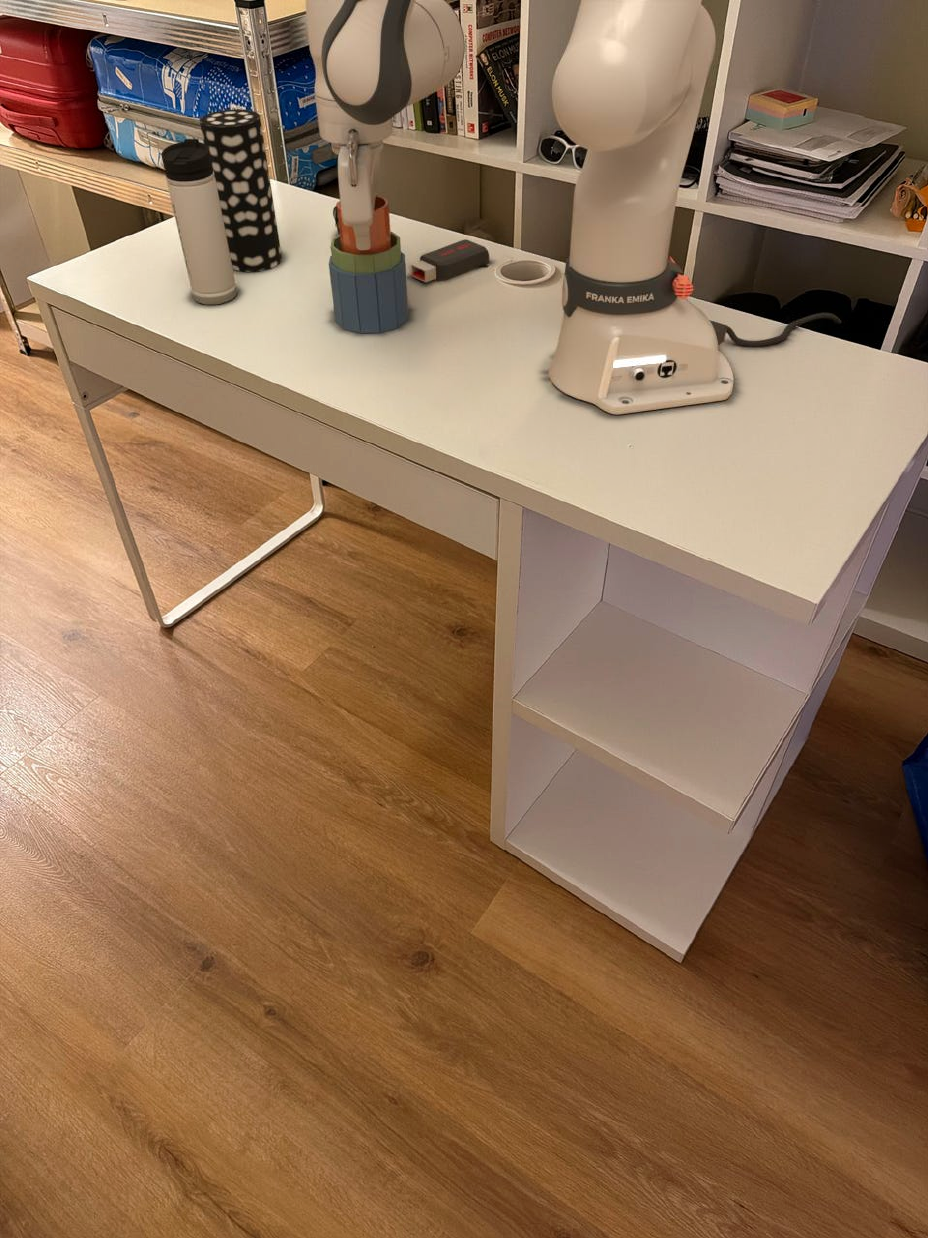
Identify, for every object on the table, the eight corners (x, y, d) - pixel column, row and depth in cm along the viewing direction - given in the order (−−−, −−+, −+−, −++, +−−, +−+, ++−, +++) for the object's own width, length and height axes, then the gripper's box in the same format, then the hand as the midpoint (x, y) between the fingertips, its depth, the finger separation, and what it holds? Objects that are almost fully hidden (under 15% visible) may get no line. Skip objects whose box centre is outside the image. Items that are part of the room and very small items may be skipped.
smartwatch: (361, 231, 148) (359, 200, 144) (346, 243, 144) (343, 211, 141) (339, 228, 149) (336, 196, 145) (323, 239, 146) (320, 207, 142)
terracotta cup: (394, 265, 124) (388, 193, 118) (392, 286, 120) (387, 211, 113) (346, 267, 124) (338, 194, 118) (343, 287, 119) (335, 213, 113)
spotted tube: (216, 263, 139) (186, 120, 125) (254, 245, 144) (230, 105, 130) (255, 276, 136) (229, 130, 122) (293, 257, 141) (272, 114, 127)
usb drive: (489, 262, 138) (489, 244, 136) (430, 286, 133) (429, 267, 131) (466, 252, 141) (466, 234, 139) (407, 275, 135) (406, 257, 133)
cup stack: (408, 299, 129) (404, 225, 122) (407, 332, 122) (402, 255, 115) (338, 301, 129) (330, 227, 122) (333, 333, 122) (324, 257, 115)
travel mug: (243, 286, 133) (215, 138, 120) (230, 306, 129) (200, 154, 115) (201, 284, 134) (169, 137, 120) (187, 304, 129) (152, 153, 115)
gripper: (377, 145, 101) (387, 267, 111) (384, 94, 116) (392, 206, 125) (321, 146, 101) (335, 269, 111) (334, 95, 116) (346, 208, 125)
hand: (365, 235), depth 118 cm, fingers closed on terracotta cup, 6 cm apart
